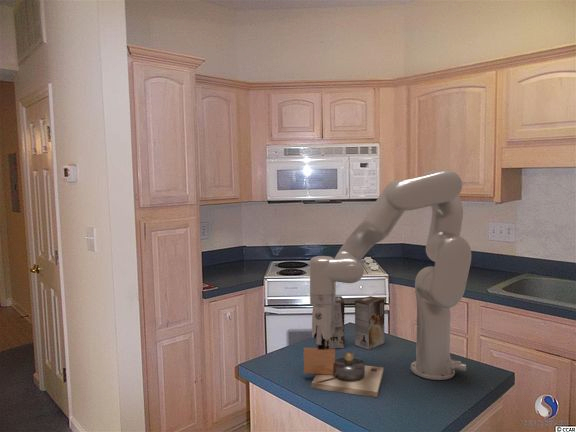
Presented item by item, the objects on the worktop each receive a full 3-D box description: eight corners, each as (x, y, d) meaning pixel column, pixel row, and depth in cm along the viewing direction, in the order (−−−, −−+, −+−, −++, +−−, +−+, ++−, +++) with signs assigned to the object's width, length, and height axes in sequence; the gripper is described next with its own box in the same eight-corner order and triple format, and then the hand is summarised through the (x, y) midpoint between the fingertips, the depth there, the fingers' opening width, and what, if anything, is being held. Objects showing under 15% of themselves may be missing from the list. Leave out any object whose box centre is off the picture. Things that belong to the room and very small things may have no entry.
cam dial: (363, 367, 131) (363, 344, 130) (365, 381, 122) (365, 356, 121) (304, 366, 132) (304, 342, 132) (302, 379, 123) (302, 354, 123)
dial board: (383, 372, 131) (383, 367, 131) (377, 397, 116) (377, 391, 116) (324, 365, 137) (324, 360, 137) (311, 388, 122) (311, 382, 122)
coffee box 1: (344, 348, 151) (345, 302, 150) (326, 348, 151) (326, 302, 150) (342, 339, 160) (342, 295, 159) (324, 339, 160) (324, 295, 159)
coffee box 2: (370, 338, 160) (370, 295, 159) (384, 343, 155) (385, 298, 154) (354, 345, 154) (354, 300, 153) (369, 350, 149) (369, 303, 148)
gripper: (329, 306, 121) (329, 370, 122) (340, 293, 135) (340, 351, 136) (303, 304, 123) (303, 367, 125) (317, 291, 137) (317, 348, 139)
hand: (323, 358), depth 130 cm, fingers closed
